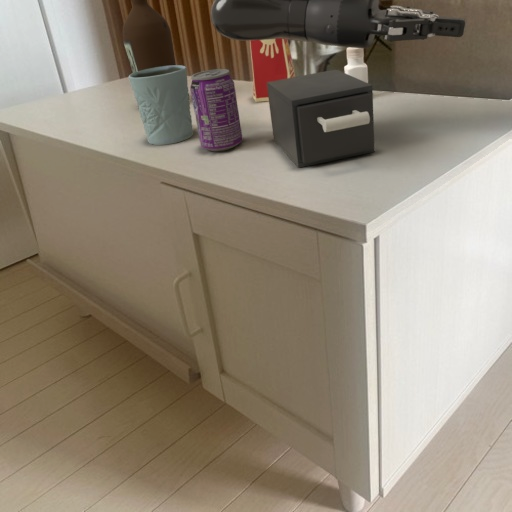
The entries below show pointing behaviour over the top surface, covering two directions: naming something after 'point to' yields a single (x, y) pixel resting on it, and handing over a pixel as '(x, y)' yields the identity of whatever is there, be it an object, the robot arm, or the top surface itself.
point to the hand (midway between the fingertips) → (464, 27)
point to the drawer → (335, 127)
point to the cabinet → (303, 92)
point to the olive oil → (147, 38)
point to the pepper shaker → (356, 64)
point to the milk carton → (269, 64)
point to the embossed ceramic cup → (163, 103)
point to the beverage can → (216, 109)
